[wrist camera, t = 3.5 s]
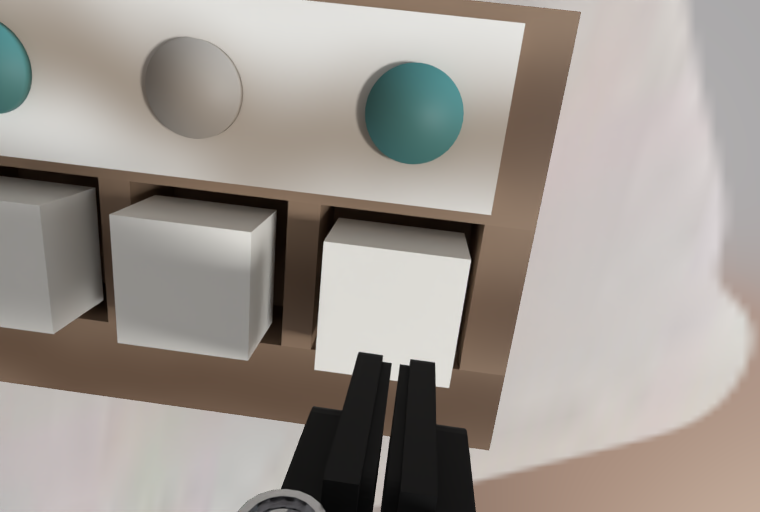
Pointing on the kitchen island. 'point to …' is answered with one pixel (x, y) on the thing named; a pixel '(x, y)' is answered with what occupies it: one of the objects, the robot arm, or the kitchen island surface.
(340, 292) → the white square block
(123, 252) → the button mid
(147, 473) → the kitchen island surface
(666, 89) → the kitchen island surface
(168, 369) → the board
